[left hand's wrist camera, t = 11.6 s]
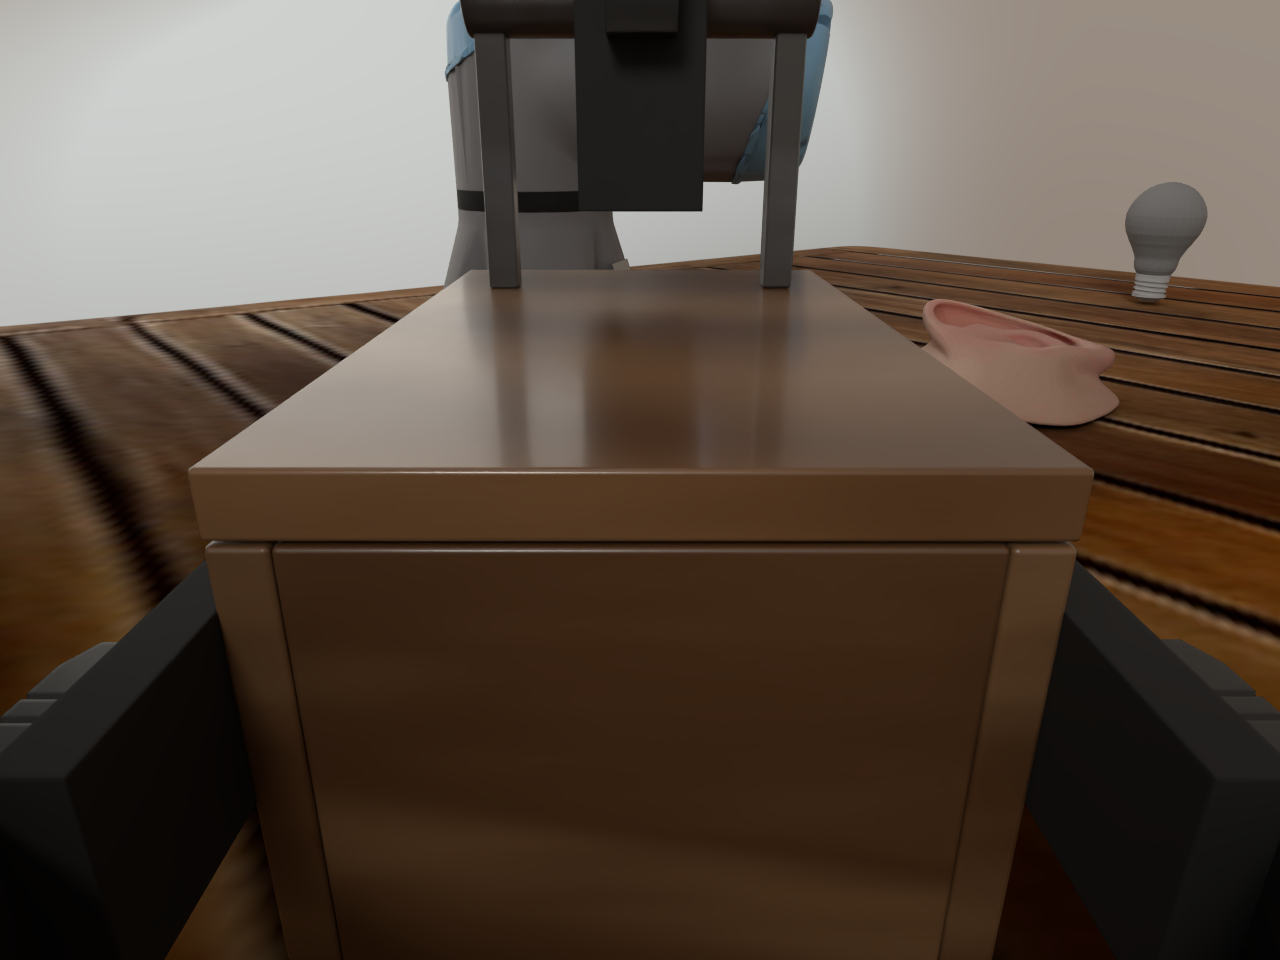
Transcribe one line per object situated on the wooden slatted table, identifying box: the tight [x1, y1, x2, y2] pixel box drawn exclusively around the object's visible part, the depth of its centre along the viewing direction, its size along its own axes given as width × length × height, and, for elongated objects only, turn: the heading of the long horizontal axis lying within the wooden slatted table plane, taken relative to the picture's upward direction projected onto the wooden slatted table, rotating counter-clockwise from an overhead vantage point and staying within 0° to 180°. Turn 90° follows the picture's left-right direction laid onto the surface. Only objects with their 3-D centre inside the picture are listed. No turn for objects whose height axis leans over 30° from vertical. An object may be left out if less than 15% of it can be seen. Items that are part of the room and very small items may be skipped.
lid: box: [188, 0, 1094, 541], centre depth 15 cm, size 16×10×8 cm, turn 0°
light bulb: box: [1125, 182, 1207, 302], centre depth 73 cm, size 6×6×10 cm
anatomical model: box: [921, 299, 1119, 426], centre depth 47 cm, size 13×4×12 cm
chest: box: [205, 541, 1077, 960], centre depth 18 cm, size 15×10×9 cm, turn 0°
